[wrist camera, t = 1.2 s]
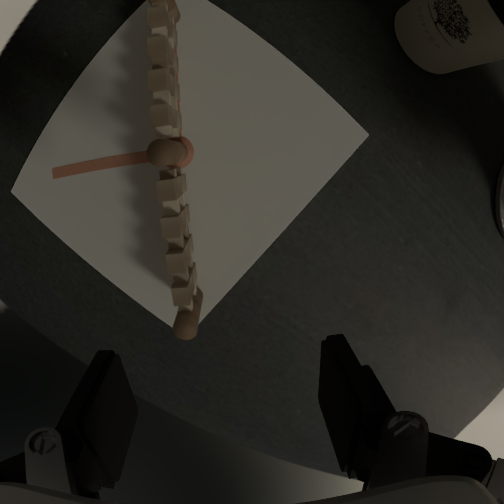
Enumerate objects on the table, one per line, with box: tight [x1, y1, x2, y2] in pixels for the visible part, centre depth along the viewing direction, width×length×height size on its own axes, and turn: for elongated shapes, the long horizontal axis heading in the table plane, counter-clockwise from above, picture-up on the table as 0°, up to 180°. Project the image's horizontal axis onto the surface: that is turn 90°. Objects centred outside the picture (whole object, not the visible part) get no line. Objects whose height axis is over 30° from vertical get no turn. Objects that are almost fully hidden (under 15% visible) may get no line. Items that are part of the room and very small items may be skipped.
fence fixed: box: [147, 0, 188, 167], centre depth 20 cm, size 14×2×6 cm, turn 4°
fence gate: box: [156, 167, 203, 340], centre depth 24 cm, size 12×2×6 cm, turn 4°
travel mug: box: [394, 0, 504, 74], centre depth 14 cm, size 8×8×18 cm
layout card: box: [11, 0, 369, 328], centre depth 25 cm, size 25×23×1 cm
